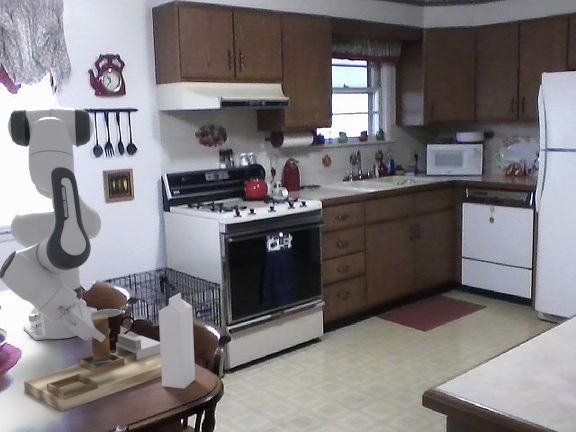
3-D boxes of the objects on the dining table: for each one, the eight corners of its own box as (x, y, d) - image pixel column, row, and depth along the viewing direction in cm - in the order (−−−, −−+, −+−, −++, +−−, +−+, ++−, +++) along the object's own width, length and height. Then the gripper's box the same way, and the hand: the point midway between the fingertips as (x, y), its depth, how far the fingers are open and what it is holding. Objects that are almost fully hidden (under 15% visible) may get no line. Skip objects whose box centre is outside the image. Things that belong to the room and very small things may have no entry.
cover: (116, 351, 170) (115, 334, 169) (141, 344, 176) (140, 327, 175) (137, 360, 163) (136, 342, 163) (162, 352, 169) (161, 334, 168)
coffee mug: (86, 350, 180) (84, 316, 178) (104, 340, 188) (102, 308, 186) (120, 354, 176) (118, 319, 174) (138, 344, 184) (136, 311, 182)
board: (24, 390, 152) (23, 374, 151) (140, 353, 176) (139, 339, 175) (61, 411, 140) (60, 394, 139) (180, 369, 164) (180, 354, 163)
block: (94, 362, 158) (91, 320, 157) (92, 357, 162) (90, 315, 161) (110, 360, 160) (107, 318, 158) (108, 355, 164) (106, 313, 162)
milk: (162, 386, 153) (157, 298, 150) (174, 377, 158) (169, 291, 156) (184, 389, 151) (179, 299, 148) (196, 379, 157) (191, 293, 154)
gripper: (70, 303, 147) (115, 338, 151) (66, 284, 165) (107, 315, 170) (51, 324, 146) (97, 358, 150) (49, 302, 164) (90, 334, 169)
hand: (102, 335), depth 160 cm, fingers closed on block, 4 cm apart
